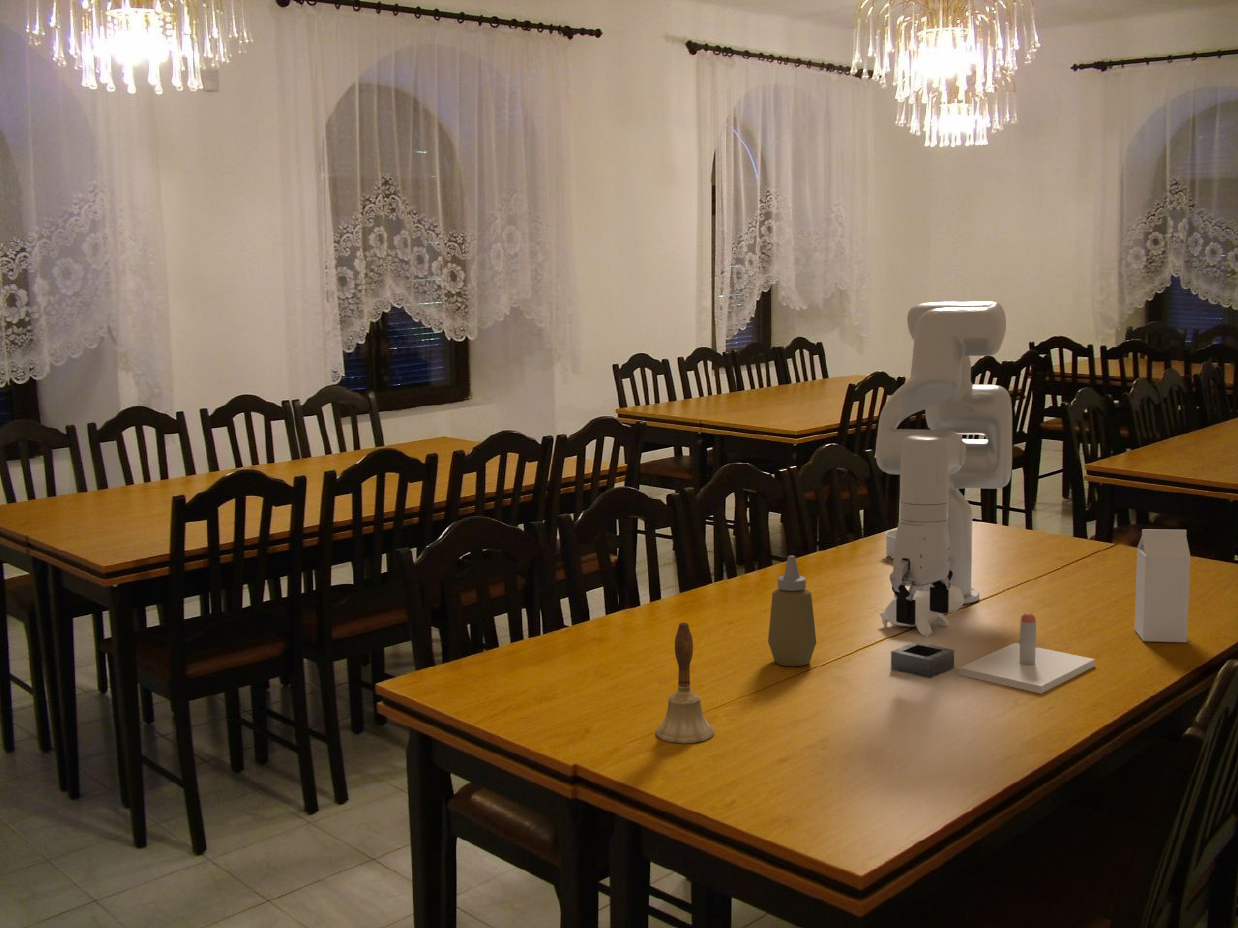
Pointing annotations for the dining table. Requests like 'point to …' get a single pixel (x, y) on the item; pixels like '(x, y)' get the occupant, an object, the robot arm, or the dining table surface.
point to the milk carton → (1162, 586)
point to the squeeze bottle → (792, 619)
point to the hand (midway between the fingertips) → (922, 617)
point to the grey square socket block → (922, 659)
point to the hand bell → (684, 700)
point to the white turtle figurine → (925, 611)
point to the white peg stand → (1027, 663)
